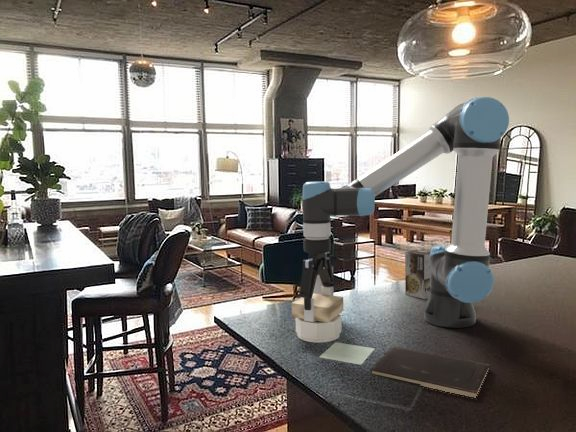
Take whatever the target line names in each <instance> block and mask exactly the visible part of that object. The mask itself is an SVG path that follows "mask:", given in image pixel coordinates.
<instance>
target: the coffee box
mask: <svg viewBox="0 0 576 432" xmlns="http://www.w3.org/2000/svg"><path fill="white" fill-rule="evenodd" d="M404 253H405V254H404V260H405V261H404V263H405V264H404V272H405V275H404V276H405V280H404V281H405V282H404V284H405V295H407V296H411V297H415V298H419V299H422V300H426V299H427V300H428V298H429V295H430V251H428V250H420V249H412V250H409V251H405V252H404Z"/></svg>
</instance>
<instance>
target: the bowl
mask: <svg viewBox="0 0 576 432" xmlns="http://www.w3.org/2000/svg"><path fill="white" fill-rule="evenodd" d="M294 320H295V332H296V333H297V334H296V335H297V338H298V339H300V340H301V341H303V342H304V341H305V342H307V343H308V342H309V343H316V344H317V343H318V344H321V343H328V342H333V341H335V340H337V339H339V338H340V336H341V333H342V315H341V314H339V315H337V316H336V317H335V318H334V319H332V320H331V321H330V322H322V321H315V320H314V322H310V321H304V319H301V318H295V319H294Z"/></svg>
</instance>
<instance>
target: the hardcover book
mask: <svg viewBox="0 0 576 432" xmlns="http://www.w3.org/2000/svg"><path fill="white" fill-rule="evenodd" d="M490 366H491V365H490V364H488V363H484V362H478V361H472V360H468V359H464V358H463V359H462V358H457V357H451V356H447V355H441V354H437V353H430V352H425V351H419V350H415V349H414V350H413V349H409V348H403V347H397V346H392V347H391V348H390V349H389V350H388V351H387V352H386V353H385V354H384V355H383V356H382V357H381V358H380V359H379V360H378V361H377V362H376V363H375V364H374V365H373V366H372V367H371V368H370V369H369V370H370V371H371V374H372V375H376V376H382V377H387V378H392V379H395V380H399V381H405V382H408V383H412V384H418V385H419V387H420V386H424V387H429V388H433V389H438V390H442V391H445V392H444V393H446V392H450V393H449V394H451V393H455V394H460V395H465V396H469V397H474V398H476V396H477V397H478V395H479V393H480V391H481V389H480V388H482V387H481V385H482V386H483V384H484V382H485V380H486V378H485V377H487V375H488V373H489V371H488V370H491V369H490V368H491V367H490ZM487 372H488V373H487ZM486 374H487V375H486ZM484 379H485V380H484ZM483 381H484V382H483ZM482 383H483V384H482ZM424 387H423V388H424ZM433 389H432V390H433ZM479 390H480V391H479ZM442 391H441V392H442ZM478 392H479V393H478ZM455 394H454V395H455ZM477 394H478V395H477ZM476 399H477V398H476Z"/></svg>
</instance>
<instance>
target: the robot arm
mask: <svg viewBox="0 0 576 432" xmlns="http://www.w3.org/2000/svg"><path fill="white" fill-rule="evenodd" d="M509 125H510V116H509V112H508V109H507V108H506V106H505V105H504V104H503V103H502V102H501V101H499V100H498V99H496V98H494V97H490V96H480V97H474V98H472V99H470V100H468V101H466V102H463V103H460V104H458V105H456V106H455V107H453V108H452V109H451V110H449V112H448V113H446V114H445V115H444V116H443V117H442V118H440V119H439V120H437V121H436V122H435V123H433V124H432V125H430V127H429V128H428V129H429V130H428V131H427V132H426V133H424V134H423V135H421V136H420V137H418V138H417V139H415V140H414V141H411V143H409V144H408V145H406V146H405V147H403V148H401V149H400V150H398V151H397V152H396V153H394V154H392V155H391V156H389V157H387V158H386V159H384V160H383V161H381V162H380V163H379V164H377V165H376V166H374V167H372V168H371V169H369V170H368V171H366V172H364V173H363V174H362V175H360V176H358V177H357V178H356V179H354V180H352V181H351V182H349V183H348V184H345V185H343V186H342V187H340V188H331V184H330V182H329V181H306V182H305V183H303V186H302V199H301V200H302V219H303V220H302V226H301V228H302V229H303V230H302V231H303V234H302V235H303V237H304V239H303V240H302V241H303V242H302V243H303V252H304V253H307V254H308V258H307V259H303V260H302V272H301V280H300V286H299V287H300V288H299V298H301V297H302V298H304V321H310V322H314V298H313V297H312V296H313V293H314V287H315V283H316V278H317V275H319V276H320V279H321V282H322V285H323V286H324V287H323V286H322V287H321V294H323V295H331V287H333V288H334V286H335V283H334V282H335V279H334V271H333V272H332V266H331V254H332V253H331V250H332V249H331V248H332V247H331V245H332V244H331V238H330V237H331V235H332V234H331V231H332V230H331V229H332V227H331V217H338V216H341V217H342V216H345V217H347V216H348V217H349V216H350V217H353V216H354V217H355V216H357V217H358V216H360V217H364V216H371V215H373V214H374V212H375V207H376V206H375V205H376V203H375V202H376V200H375V197H376V196H379V194H382V193H383V192H384V191H385V190H388V189H389V188H391V187H392V186H394V185H396V184H397V183H398V182H400V181H402V180H403V179H405V178H406V177H408V176H409V175H411V174H412V173H414V172H416V171H418V170H419V169H421V168H422V167H423V166H425V165H427V164H428V163H429V162H431V161H432V160H434V159H435V158H437V157H439V156H440V155H442V154H447V155H448V154H450V153H452V152H455V154H456V155H457V157H458V158H457V166H456V167H457V170H456V179H455V180H456V183H455V193H454V203H453V204H454V206H453V217H452V229H451V240H450V241H451V242H450V244H449V245H435V246H432V247H431V249H430V251H429V252H430V295H429V298H427V301H426V304H425V307H424V310H423V319H424V321H425V322H426V323H429V324H431V325H434V326H437V327H443V328H452V329H455V328H456V329H460V328H469V327H472V326H474V325H475V324H476V322H477V314H476V311H475V307H474V304H473V303H478V302H481V301H483V300H484V299H485V298H487V297H488V296H489V295H490V294H491V292H492V291H493V288H494V284H495V279H494V278H495V277H494V274H493V272H492V270H491V268H490V261H491V260H490V259H491V258H490V257H491V253H490V251H489V249H488V248H486V236H487V224H488V214H489V213H488V212H489V203H490V190H491V182H492V180H491V179H492V171H493V170H492V168H493V160H494V159H493V158H494V157H495V156H496V155H497V154H498V153H499V152H500V151H501V150H500V149H501V143H502V142H501V140H502V139H501V138H502V137H503V136H504V135H505V134H506V132H507V130H508V128H509Z"/></svg>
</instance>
